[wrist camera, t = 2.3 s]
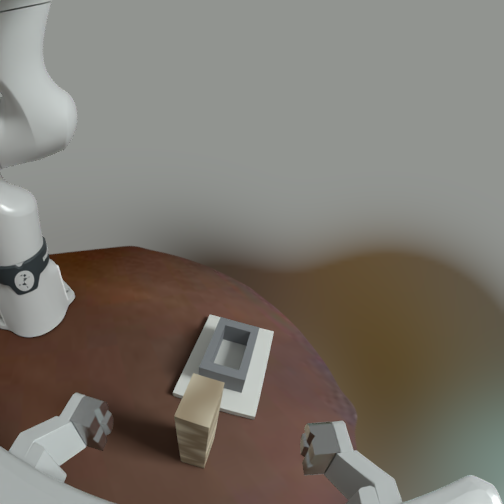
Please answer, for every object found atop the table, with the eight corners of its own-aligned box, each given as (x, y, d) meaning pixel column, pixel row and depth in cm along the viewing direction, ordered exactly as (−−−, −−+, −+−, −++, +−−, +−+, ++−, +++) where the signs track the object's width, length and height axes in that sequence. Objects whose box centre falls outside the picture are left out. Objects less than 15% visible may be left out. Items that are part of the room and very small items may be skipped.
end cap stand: (173, 395, 36) (171, 379, 33) (209, 318, 51) (211, 300, 49) (253, 419, 35) (259, 405, 32) (272, 335, 50) (278, 317, 48)
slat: (181, 461, 27) (174, 416, 19) (192, 431, 31) (193, 373, 24) (203, 468, 27) (209, 427, 19) (214, 437, 31) (224, 382, 24)
